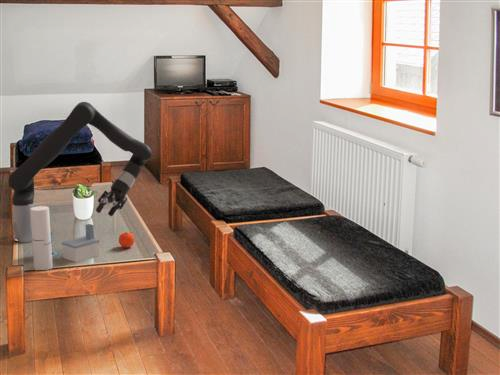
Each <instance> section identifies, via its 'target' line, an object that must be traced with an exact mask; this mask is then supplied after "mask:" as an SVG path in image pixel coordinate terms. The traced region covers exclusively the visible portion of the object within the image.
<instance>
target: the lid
mask: <svg viewBox="0 0 500 375" xmlns="http://www.w3.org/2000/svg"><path fill="white" fill-rule="evenodd" d="M84 226H85V235H83V236H79V237H76V238H72V239H68V240H65V241H61V245H62V244H63V245H66V246H69V247H72V248H79V247H83V246H87V245H90V244H94V243H98V242H99V243H100V239H98V238H95V227H94V224H91V223H88V224H87V223H86V224H85V225H84Z"/></svg>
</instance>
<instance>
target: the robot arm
mask: <svg viewBox="0 0 500 375" xmlns="http://www.w3.org/2000/svg"><path fill="white" fill-rule="evenodd" d="M88 124H89V125H90V126H91V127H94V128H95V129H97V130H98V131H99V132H100V133H101V134H103V135H104V136H105V137H106V138H107V139H108V140H109V141H110V143H113V145H115V146H116V147H118V148H119V149H120V150H123V151H124V152H129V153H131V154H132V155H131V157H130V158H129V160H128V162H127V163H126V164H125V166H124V167H123V169H122V170H121V172H120V173H118V175H117V177H116V178H115V180H114V182H113V183H112V185H111V186H110V191H109V192H108V191H107V190H104V191H103V193H102V194H101V195H100V197H99V198H98V199H97V202H98V205H97V207H96V209H95V211H96V213H98V214H101V212H102V211H103V209H104V207H105V206H106V205H110V204H113V205H112V207H111V208H110V210H108V213H107V215H109V216H110V217H113V216H114V214H115V213H116V212H117V211H118V210H122V208H123V207H124V206H125V204H126V203H127V201H128V197H127V195H128V193H129V191H130V190H131V188H132V187H133V185H134V183H135V181H136V180H137V178H138V176H140V174H141V170H142V168H143V167H144V166H145V164H146V163H147V161H149V160H150V159H151V158H152V155H153V151H152V149H151V148H150V146H148V145H147V144H146V143H145V142H142V141H140V140H138V139H136V138H133V137H132V136H130V135H129V134H128V133H127V132H126V131H123V129H121V128H119V127H118V126H116V124H114V123H112V122H111V121H110V120H109V119H107V118H106V116H104V115H102V113H100V112H99V111H98V110H97V109H96V108H95V107H94V105H92V104H91V103H90V102H87V101H81V102H79V103H77V104H76V105H75V106H74V107H73V109H72V110H71V112H70V113H69V115H67V117H66V118H65V119H64V121H63V122H62V123H61V124H60V125H59V126H57V127H56V128H55V129H54V130H53V131H51V132H50V133H48V135H47V136H46V137H45V138H44V139H42V141H41V142H40V143H39V144H38V145H37V147H35V149H34V150H33V151H32V152H31V154H30V156H29V157H27V159H26V160H25V161H24V162H23V163H22V164H21V165H20V166H18V167H17V168H16V169H15V170H13V171H12V172H11V173H10V175H9V176H8V185H9V187H10V189H12V190H13V196H12V198H11V203H12V216H13V220H12V227H13V239H14V240H15V239H17V240H18V241H19V242H18V243H31V242H33V240H32V225H31V210H30V209H31V208H33V207H35V205H34V198H35V179H34V178H35V177H36V175H38V173H39V172H40V171H41V170H43V169H44V168H45V167H46V166H48V165H49V164H50V163H52V162H53V161H54V160H55V159H56V158H57V157H58V156H59V155H60V154H61V153H63V151H64V150H65V149H66V147H67V146H68V145H69V143H70V142H71V140H72V139H73V138H74V137H75V136H76V134H78V132H80V131H81V130H82V129H83V128H85V127H86V126H87V125H88ZM14 240H13V241H14Z"/></svg>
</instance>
